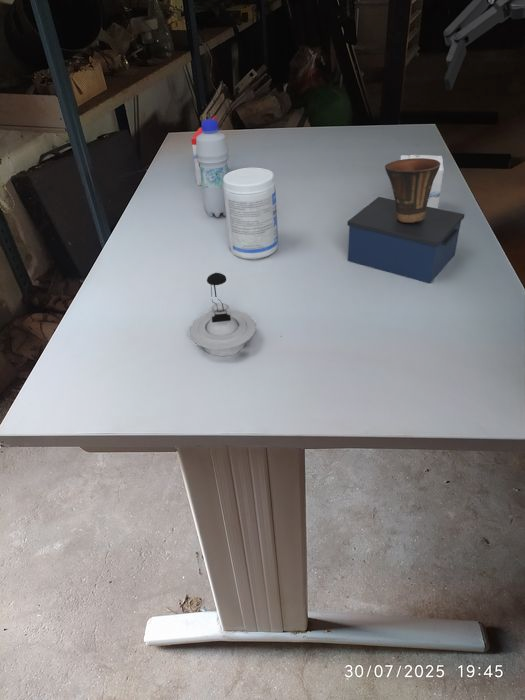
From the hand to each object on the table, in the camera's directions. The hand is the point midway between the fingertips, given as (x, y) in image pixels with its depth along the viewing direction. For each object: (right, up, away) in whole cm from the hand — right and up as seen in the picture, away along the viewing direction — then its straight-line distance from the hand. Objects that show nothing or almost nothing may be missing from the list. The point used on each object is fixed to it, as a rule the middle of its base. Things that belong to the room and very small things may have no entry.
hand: (492, 89), depth 79 cm
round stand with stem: (-40, -38, +3) cm, 55 cm away
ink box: (-2, -10, +35) cm, 36 cm away
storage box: (-8, -21, +21) cm, 31 cm away
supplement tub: (-36, -19, +27) cm, 48 cm away
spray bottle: (-47, +5, +58) cm, 75 cm away
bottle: (-44, -8, +41) cm, 61 cm away
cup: (-8, -15, +16) cm, 24 cm away
